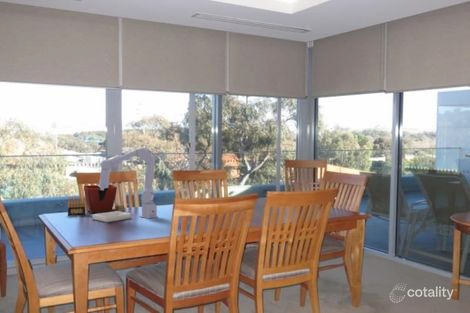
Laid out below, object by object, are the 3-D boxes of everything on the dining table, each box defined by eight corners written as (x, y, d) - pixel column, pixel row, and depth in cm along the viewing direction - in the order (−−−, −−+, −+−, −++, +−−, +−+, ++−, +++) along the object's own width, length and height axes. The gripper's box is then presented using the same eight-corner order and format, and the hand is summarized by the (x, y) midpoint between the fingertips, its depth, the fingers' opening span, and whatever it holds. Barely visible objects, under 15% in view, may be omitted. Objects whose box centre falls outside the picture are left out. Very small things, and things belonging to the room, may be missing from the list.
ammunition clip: (67, 215, 291) (67, 196, 290) (67, 214, 293) (67, 196, 292) (85, 214, 295) (85, 196, 294) (85, 214, 296) (85, 195, 296)
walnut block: (124, 214, 296) (124, 205, 296) (119, 215, 293) (119, 206, 293) (120, 214, 299) (120, 205, 298) (115, 214, 295) (115, 205, 295)
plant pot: (83, 209, 314) (83, 185, 313) (111, 207, 322) (111, 184, 322) (87, 214, 297) (87, 188, 296) (117, 212, 305) (117, 187, 305)
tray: (130, 218, 284) (130, 213, 284) (106, 222, 270) (106, 217, 270) (117, 215, 293) (117, 210, 293) (92, 219, 279) (92, 214, 279)
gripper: (99, 176, 297) (96, 197, 297) (96, 179, 282) (93, 200, 283) (110, 178, 298) (107, 198, 299) (108, 180, 284) (105, 202, 284)
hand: (101, 199), depth 291 cm, fingers open, 7 cm apart
